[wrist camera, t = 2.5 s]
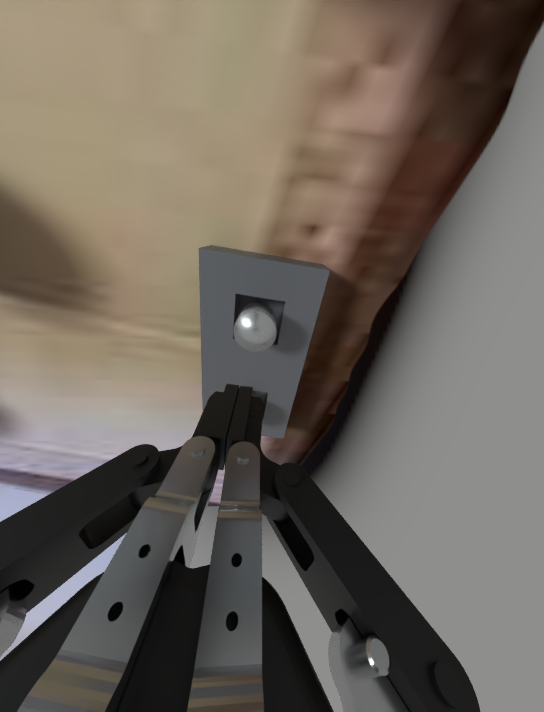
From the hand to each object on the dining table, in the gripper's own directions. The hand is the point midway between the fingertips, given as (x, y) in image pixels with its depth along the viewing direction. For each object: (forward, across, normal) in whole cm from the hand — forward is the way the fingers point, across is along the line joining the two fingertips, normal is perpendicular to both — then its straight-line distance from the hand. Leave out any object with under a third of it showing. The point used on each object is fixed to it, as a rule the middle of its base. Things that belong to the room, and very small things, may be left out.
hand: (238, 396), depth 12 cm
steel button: (+12, 0, 0) cm, 12 cm away
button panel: (+16, 0, +6) cm, 17 cm away
